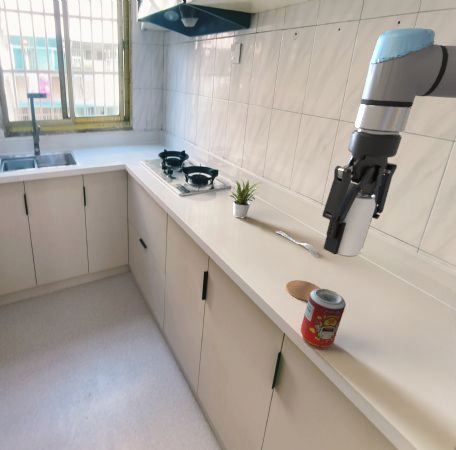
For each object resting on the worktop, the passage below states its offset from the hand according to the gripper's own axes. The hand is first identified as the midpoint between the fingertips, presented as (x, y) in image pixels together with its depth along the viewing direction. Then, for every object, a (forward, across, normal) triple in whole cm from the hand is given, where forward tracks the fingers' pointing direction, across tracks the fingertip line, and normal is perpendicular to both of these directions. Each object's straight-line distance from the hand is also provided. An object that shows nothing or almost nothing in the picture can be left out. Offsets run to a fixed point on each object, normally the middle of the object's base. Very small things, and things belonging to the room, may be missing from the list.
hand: (343, 248), depth 68 cm
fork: (+24, -32, -39) cm, 56 cm away
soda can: (+24, +1, 0) cm, 24 cm away
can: (+1, 0, 0) cm, 1 cm away
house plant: (+24, -29, -67) cm, 77 cm away
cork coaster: (+23, -12, -15) cm, 30 cm away
